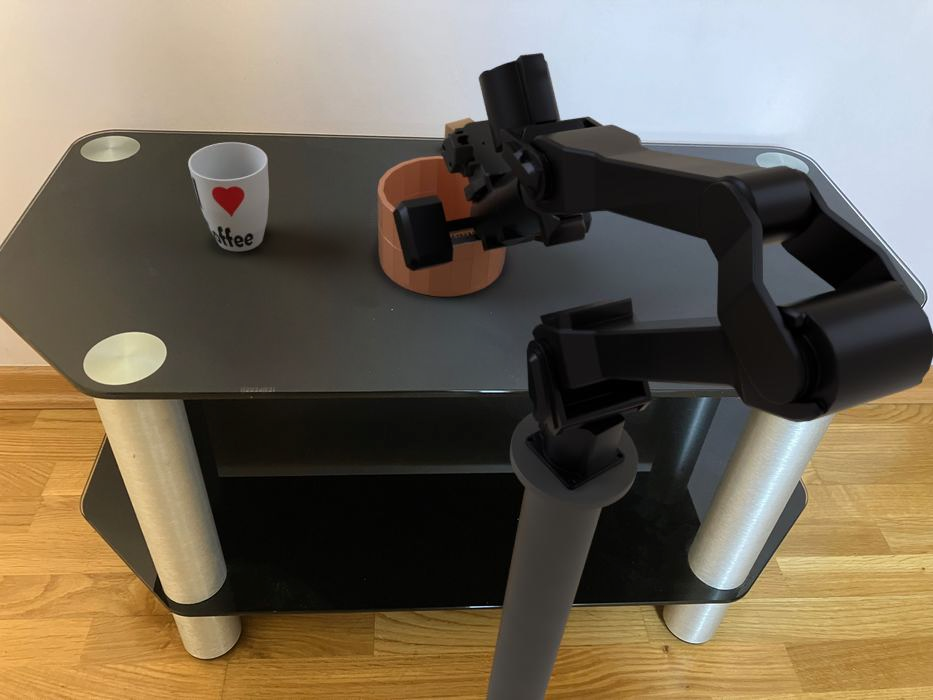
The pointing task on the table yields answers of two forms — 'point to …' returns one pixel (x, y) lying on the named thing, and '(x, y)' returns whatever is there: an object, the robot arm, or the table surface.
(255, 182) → the cup
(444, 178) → the bowl
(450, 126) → the block
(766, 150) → the table surface
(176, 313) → the table surface
